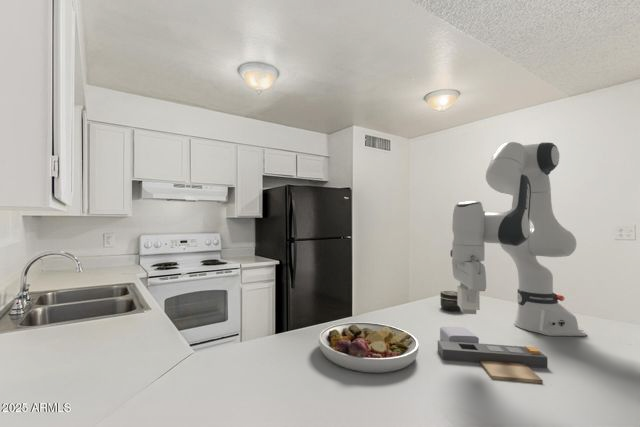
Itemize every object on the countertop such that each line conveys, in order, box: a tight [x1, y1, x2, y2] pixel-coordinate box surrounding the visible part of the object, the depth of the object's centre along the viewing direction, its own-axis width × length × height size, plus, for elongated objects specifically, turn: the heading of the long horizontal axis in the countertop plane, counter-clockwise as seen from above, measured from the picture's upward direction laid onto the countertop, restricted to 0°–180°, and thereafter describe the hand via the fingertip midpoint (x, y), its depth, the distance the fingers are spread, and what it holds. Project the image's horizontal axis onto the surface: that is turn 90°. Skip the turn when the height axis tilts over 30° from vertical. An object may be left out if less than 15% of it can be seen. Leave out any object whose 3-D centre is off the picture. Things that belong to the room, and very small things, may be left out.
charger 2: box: [439, 325, 480, 343], centre depth 106 cm, size 5×9×15 cm
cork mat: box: [479, 361, 544, 384], centre depth 84 cm, size 12×9×1 cm
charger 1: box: [456, 285, 481, 315], centre depth 94 cm, size 5×4×8 cm
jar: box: [439, 290, 461, 312], centre depth 147 cm, size 10×10×8 cm
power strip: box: [437, 340, 548, 369], centre depth 93 cm, size 28×7×4 cm, turn 81°
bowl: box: [318, 321, 420, 374], centre depth 95 cm, size 30×30×8 cm
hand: (468, 299), depth 94 cm, fingers closed on charger 1, 4 cm apart
